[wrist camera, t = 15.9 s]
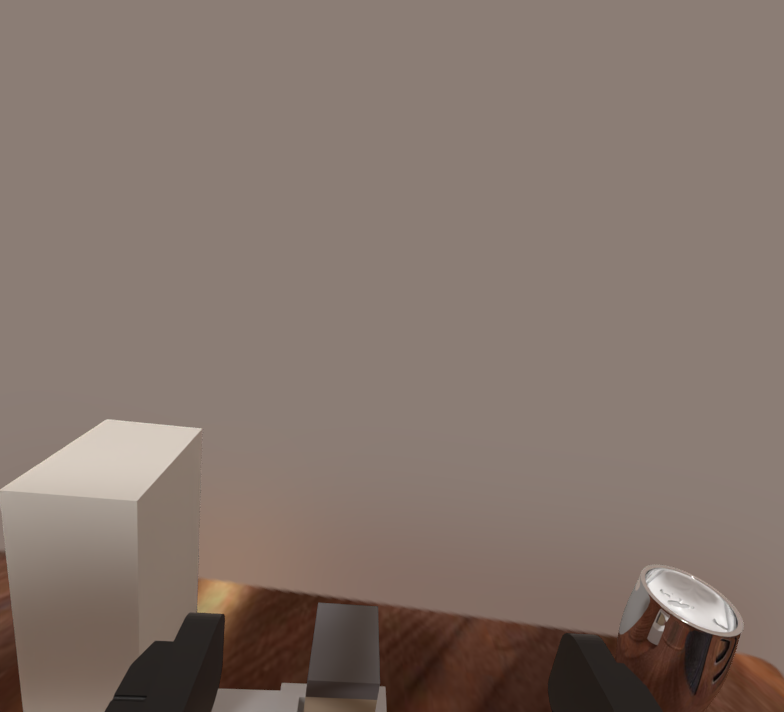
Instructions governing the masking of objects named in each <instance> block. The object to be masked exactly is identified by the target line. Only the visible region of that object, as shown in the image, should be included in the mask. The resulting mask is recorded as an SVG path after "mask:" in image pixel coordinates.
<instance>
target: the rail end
mask: <svg viewBox="0 0 784 712" xmlns="http://www.w3.org/2000/svg"><path fill="white" fill-rule="evenodd" d="M379 687H380V663H379V627H378V607H377V606H362V605H347V604H332V603H318V608H317V615H316V622H315V630H314V637H313V644H312V651H311V658H310V665H309V672H308V679H307V687H306V696H305V704H304V712H375V710H376V704H377V698H378V693H379Z"/></svg>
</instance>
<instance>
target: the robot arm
mask: <svg viewBox="0 0 784 712" xmlns="http://www.w3.org/2000/svg"><path fill="white" fill-rule="evenodd" d="M224 624H225V616H224V614H211V613H192V612H190V613H188V615H187V616H186V617H185V619H184V621H183V623H182V625H181V627H180V629H179V631H178V633H177V635H176V637H175V639H174V641H154V642H153V643H152V644H151V645H150V646H149V647H148V648H147V649H146V650H145V651H144V652H143V653H142V654H141V655H140V656H139V657H138V658H137V659H136V660H135V661H134V662H133V663H132V664H131V665H130V667H129V669H128V671H127V673H126V674H125V676H124V678H123V680H122V681H121V683H120V685H119V687H118V689H117V690H116V692H115V694H114V697H113V700H112V701H110V703H109V705H108V706H107V708H106V710H105V712H211V711H212V708H213V705H214V702H215V698H216V695H217V691H218V687H219V683H220V678H221V672H222V663H223V644H224ZM548 694H549V701H550V705H551V709H552V712H663V711H662V709H661V708H660V706H659V705H658V703H657V702H656V700H655V698H654V697H653V695H652V694H651V692H650V691H649V689H648V688H647V686H646V685H645V684H644V683H643V682H642V681H641V680H640V679H639V678H638V677H637V676H636V675H635V674H634V673H633V672H632V671H631V670H630V669H629V668H628V667H627V666H626V665H625V664H624V663H617V662H616V661H615V659H614V657H613V656H612V654H611V653H610V651H609V649H608V648H607V646H606V644H605V643H604V641H603V640H602V639H601V638H600V637H599V636H597V635H589V634H570V633H566V634H564V635H563V636H562V639H561V641H560V645H559V648H558V651H557V654H556V658H555V661H554V664H553V667H552V671H551V674H550V677H549V682H548Z"/></svg>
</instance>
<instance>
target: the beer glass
mask: <svg viewBox="0 0 784 712" xmlns="http://www.w3.org/2000/svg"><path fill="white" fill-rule="evenodd" d="M743 628H744V624H743V620H742V617H741V615H740V614H739V612H738V611H737V609H736V608H735V607H734V605H733V604H732V603H731V602H730V601H729V600H728V599H727V598H726V597H724V596H723V595H722V594H721V593H720V592H718V591H717V590H716V589H715V588H713V587H712V586H710V585H709V584H707V583H706V582H704V581H703V580H701V579H699V578H697V577H695V576H693V575H691V574H689V573H687V572H685V571H682V570H679V569H677V568H673V567H670V566H665V565H649V566H647V567H645V568H644V569H643V570H642V571H641V575H640V577H639V579H638V581H637V583H636V585H635V587H634V589H633V591H632V593H631V595H630V597H629V600H628V602H627V605H626V607H625V610H624V613H623V616H622V620H621V623H620V628H619V633H618V639H617V648H616V658H615V661H616V662H617V663H624V664H625V665H626V666H627V667H628V668H629V669H630V670H631V671H632V672H633V673H634V674H635V675H636V676H637V677H638V678H639V679H640V680H641V681H642V682H643V683H644V684H645V685H646V686H647V688H648V689H649V691H650V692H651V694H652V695H653V697H654V698H655V700H656V702H657V703H658V705H659V706H660V708H661V709H662V711H663V712H704V711H705V709H706V708H707V707H708V706H709V705H710V704H711V702H712V701H713V700H714V698H715V697H716V696H717V694H718V693H719V691H720V689H721V687H722V686H723V684H724V682H725V680H726V678H727V676H728V673H729V670H730V668H731V665H732V663H733V659H734V656H735V653H736V650H737V646H738V642H739V639H740V636H741V633H742V631H743Z"/></svg>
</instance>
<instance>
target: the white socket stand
mask: <svg viewBox="0 0 784 712" xmlns="http://www.w3.org/2000/svg"><path fill="white" fill-rule="evenodd" d="M201 459H202V429H201V428H191V427H181V426H171V425H160V424H150V423H140V422H130V421H119V420H109V419H107V420H105V421H103V422H102V423H100V424H99V425H97V426H96V427H94V428H93V429H91V430H90V431H88V432H87V433H85V434H84V435H82V436H81V437H79V438H78V439H76V440H75V441H73V442H71V443H70V444H68V445H67V446H65V447H64V448H63V449H61V450H59V451H58V452H56V453H55V454H53V455H52V456H50V457H49V458H47V459H46V460H44V461H43V462H41V463H40V464H38V465H37V466H35V467H34V468H32V469H30V470H29V471H28V472H26V473H24V474H23V475H22V476H20V477H18V478H17V479H15V480H14V481H12V482H11V483H9V484H8V485H6V486H5V487H3V488H2V489H0V504H1V513H2V522H3V532H4V541H5V550H6V559H7V568H8V577H9V587H10V596H11V605H12V614H13V623H14V632H15V641H16V651H17V660H18V669H19V678H20V687H21V696H22V705H23V712H105V710H106V708H107V706H108V705H109V703H110V701H112V700H113V697H114V694H115V692H116V690H117V689H118V687H119V685H120V683H121V681H122V680H123V678H124V676H125V674H126V673H127V671H128V669H129V667H130V665H131V664H132V663H133V662H134V661H135V660H136V659H137V658H138V657H139V656H140V655H141V654H142V653H143V652H144V651H145V650H146V649H147V648H148V647H149V646H150V645H151V644H152V643H153V642H154V641H174V639H175V637H176V635H177V633H178V631H179V629H180V627H181V625H182V623H183V621H184V619H185V617H186V616H187V615H188V613H190V612H192V613H197V596H198V562H199V561H198V560H199V558H198V557H199V527H200V493H201ZM306 687H307V684H299V683H282V684H281V690H280V691H277V690H247V689H218V691H217V695H216V698H215V702H214V705H213V708H212V711H211V712H304V704H305V696H306ZM375 712H387V708H386V688H385V687H384V686H380V687H379V693H378V698H377V704H376V710H375Z"/></svg>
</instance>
